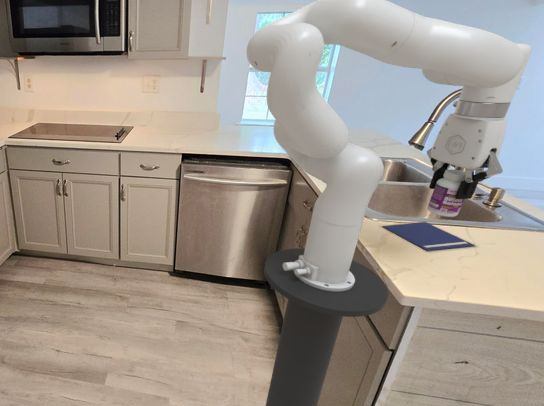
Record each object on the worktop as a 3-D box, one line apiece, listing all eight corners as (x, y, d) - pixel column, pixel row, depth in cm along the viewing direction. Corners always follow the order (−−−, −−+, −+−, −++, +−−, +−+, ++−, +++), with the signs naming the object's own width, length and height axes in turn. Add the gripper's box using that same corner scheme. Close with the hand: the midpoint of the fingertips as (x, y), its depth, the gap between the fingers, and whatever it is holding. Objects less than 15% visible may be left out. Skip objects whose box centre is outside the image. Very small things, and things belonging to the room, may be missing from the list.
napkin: (427, 251, 94) (427, 249, 94) (382, 226, 107) (382, 225, 107) (474, 246, 96) (475, 244, 96) (424, 222, 109) (425, 221, 108)
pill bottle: (441, 218, 80) (456, 176, 76) (420, 208, 85) (434, 168, 81) (464, 216, 80) (481, 175, 76) (442, 207, 85) (457, 167, 81)
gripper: (424, 104, 81) (400, 181, 88) (511, 118, 65) (473, 210, 72) (455, 103, 81) (429, 179, 89) (548, 116, 66) (507, 207, 73)
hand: (449, 192), depth 80 cm, fingers closed on pill bottle, 5 cm apart
